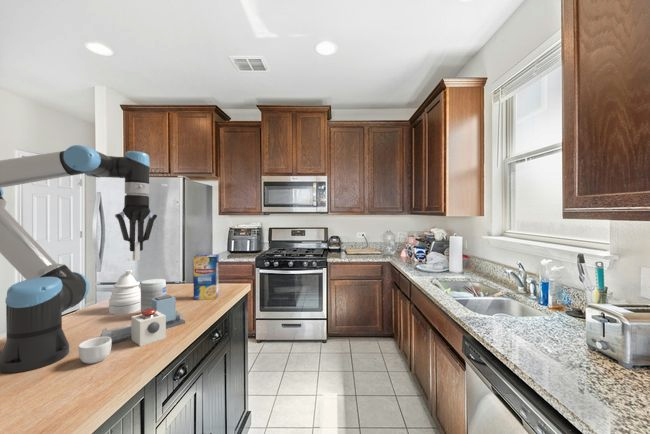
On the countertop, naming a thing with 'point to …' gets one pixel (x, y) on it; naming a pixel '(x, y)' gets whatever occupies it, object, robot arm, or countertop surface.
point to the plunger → (148, 313)
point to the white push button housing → (148, 328)
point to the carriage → (165, 306)
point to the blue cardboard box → (206, 277)
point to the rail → (128, 335)
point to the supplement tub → (151, 291)
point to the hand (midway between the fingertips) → (136, 260)
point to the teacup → (95, 349)
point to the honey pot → (125, 295)
